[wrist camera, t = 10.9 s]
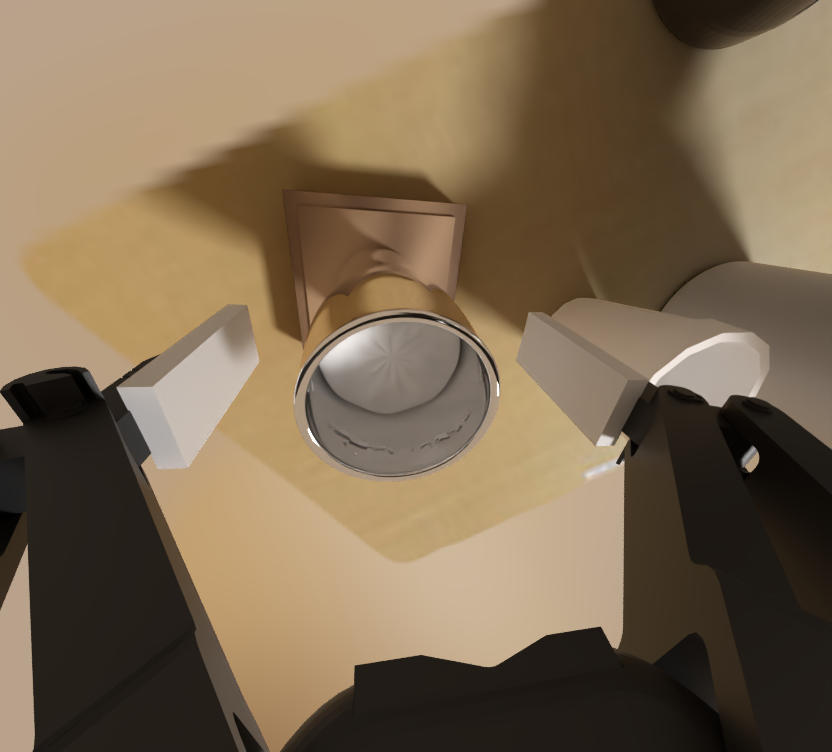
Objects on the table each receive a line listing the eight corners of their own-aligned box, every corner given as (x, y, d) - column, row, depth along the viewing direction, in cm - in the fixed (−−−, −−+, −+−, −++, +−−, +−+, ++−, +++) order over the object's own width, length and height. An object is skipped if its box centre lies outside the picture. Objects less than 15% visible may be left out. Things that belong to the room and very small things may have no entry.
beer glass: (343, 341, 24) (322, 503, 11) (318, 248, 20) (244, 327, 7) (428, 327, 24) (503, 465, 11) (419, 233, 21) (513, 283, 8)
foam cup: (532, 292, 28) (646, 351, 17) (625, 270, 28) (797, 314, 17) (529, 377, 33) (616, 467, 22) (609, 358, 33) (735, 436, 22)
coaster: (455, 204, 23) (468, 204, 20) (439, 346, 29) (447, 361, 26) (291, 191, 21) (281, 189, 18) (310, 346, 27) (304, 363, 24)
